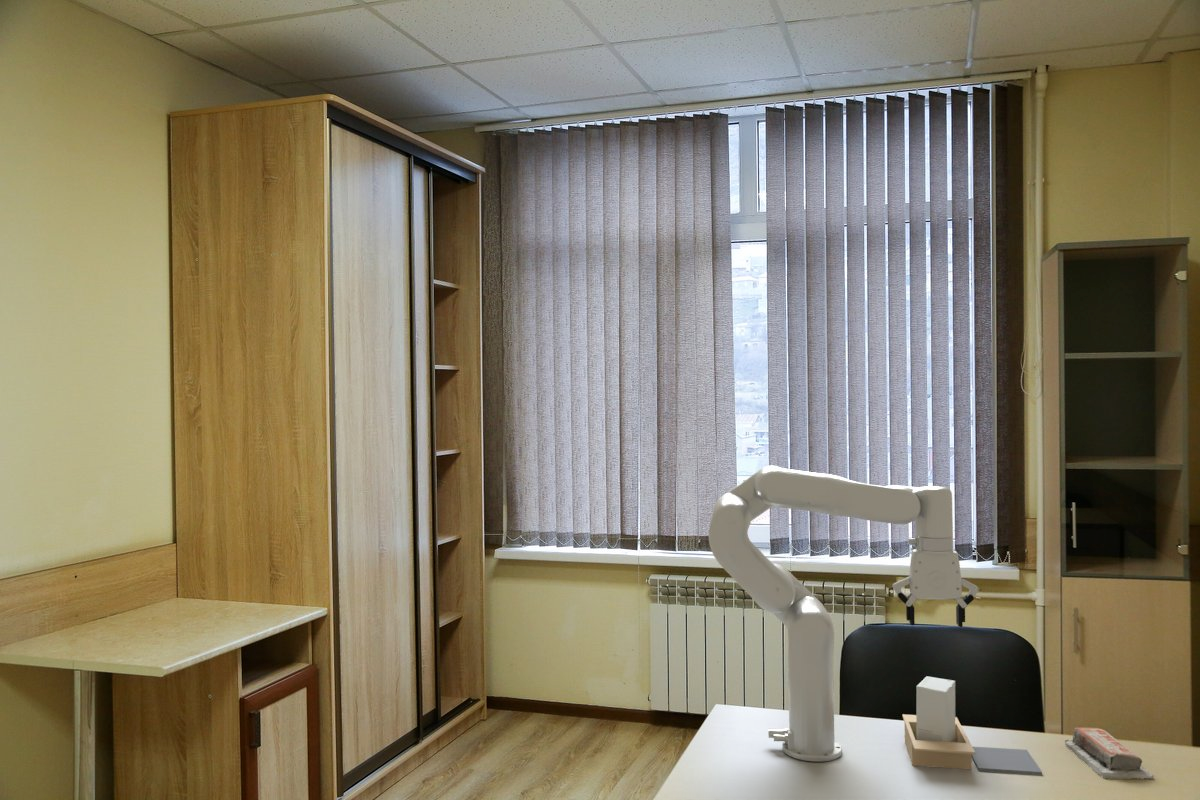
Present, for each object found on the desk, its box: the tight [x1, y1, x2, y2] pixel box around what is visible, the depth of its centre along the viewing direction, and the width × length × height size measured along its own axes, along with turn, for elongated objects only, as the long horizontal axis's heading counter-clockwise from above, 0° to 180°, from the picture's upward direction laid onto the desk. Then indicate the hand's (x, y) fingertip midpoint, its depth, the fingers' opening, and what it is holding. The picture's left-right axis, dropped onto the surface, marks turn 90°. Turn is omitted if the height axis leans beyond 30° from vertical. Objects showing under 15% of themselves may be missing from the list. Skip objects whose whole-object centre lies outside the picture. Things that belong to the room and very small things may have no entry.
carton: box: [902, 713, 975, 770], centre depth 194 cm, size 12×21×5 cm, turn 168°
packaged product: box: [1064, 727, 1155, 780], centre depth 190 cm, size 18×5×10 cm
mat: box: [971, 746, 1043, 776], centre depth 190 cm, size 12×12×1 cm
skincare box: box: [915, 675, 956, 742], centre depth 194 cm, size 8×7×16 cm
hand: (935, 624), depth 194 cm, fingers open, 9 cm apart
